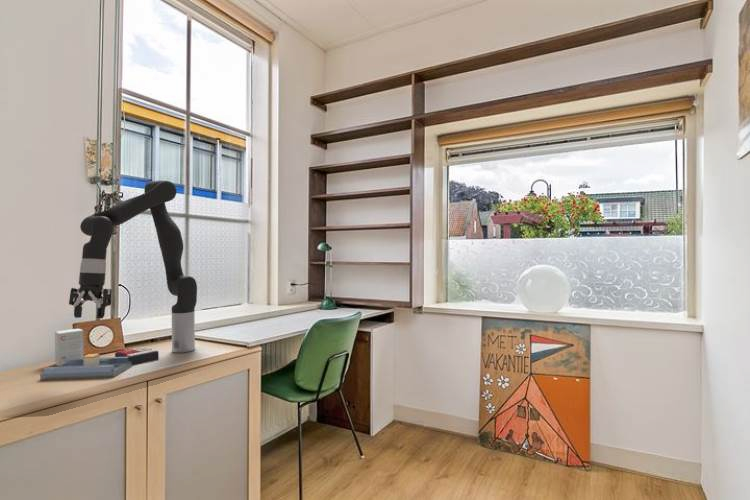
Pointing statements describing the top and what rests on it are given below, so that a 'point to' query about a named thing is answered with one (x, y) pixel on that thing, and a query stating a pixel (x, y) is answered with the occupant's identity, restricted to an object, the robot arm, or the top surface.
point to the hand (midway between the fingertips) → (88, 317)
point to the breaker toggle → (91, 360)
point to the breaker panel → (88, 375)
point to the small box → (68, 345)
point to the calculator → (139, 355)
